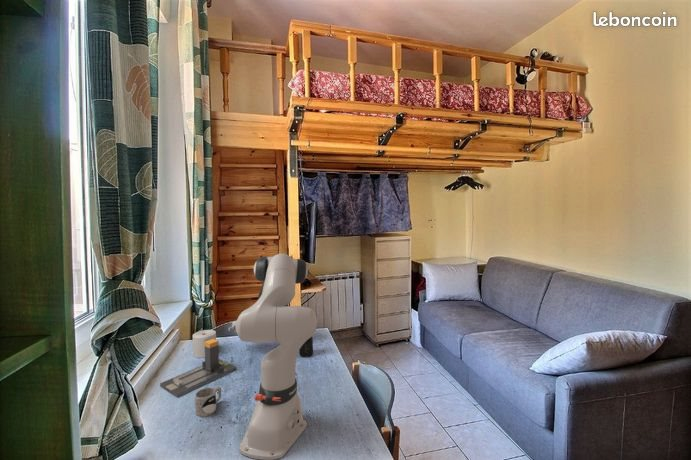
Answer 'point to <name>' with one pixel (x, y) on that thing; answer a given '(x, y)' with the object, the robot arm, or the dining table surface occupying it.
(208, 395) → the mug
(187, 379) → the breaker panel
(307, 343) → the supplement bottle
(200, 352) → the toilet tissue
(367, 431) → the dining table surface
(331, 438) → the dining table surface
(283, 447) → the robot arm
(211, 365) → the breaker handle
